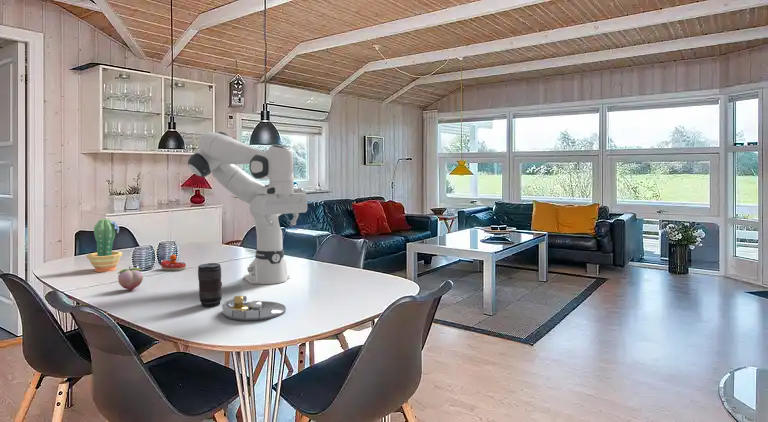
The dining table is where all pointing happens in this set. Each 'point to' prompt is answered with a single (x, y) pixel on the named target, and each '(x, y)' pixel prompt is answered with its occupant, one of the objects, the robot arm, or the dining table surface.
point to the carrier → (253, 310)
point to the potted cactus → (105, 247)
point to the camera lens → (210, 284)
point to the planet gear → (239, 304)
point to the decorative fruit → (130, 278)
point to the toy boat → (172, 264)
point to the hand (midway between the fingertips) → (282, 225)
